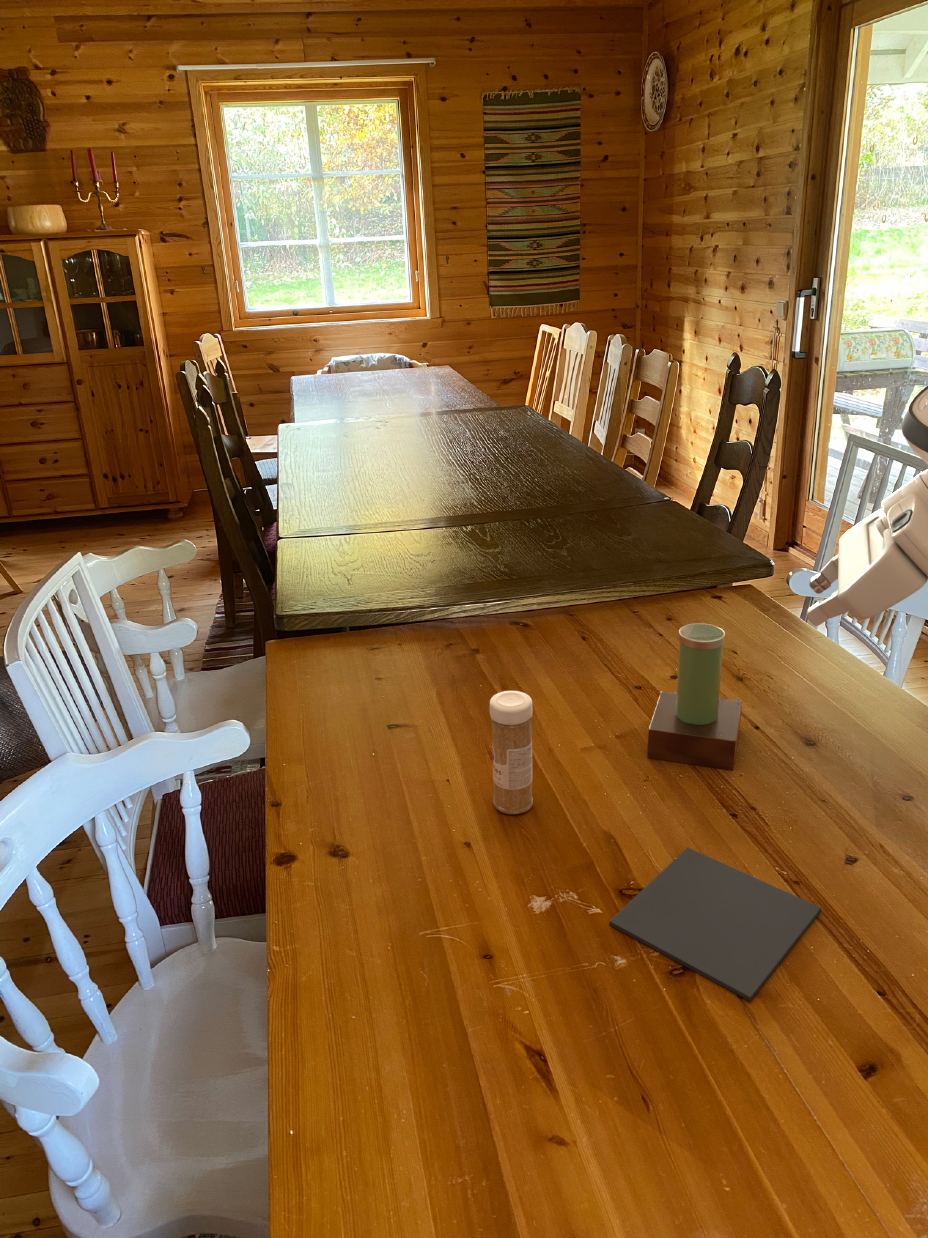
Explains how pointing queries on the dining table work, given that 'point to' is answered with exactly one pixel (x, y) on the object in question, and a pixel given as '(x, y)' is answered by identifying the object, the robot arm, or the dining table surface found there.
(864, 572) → the robot arm
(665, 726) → the walnut block
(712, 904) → the rubber mat
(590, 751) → the dining table surface
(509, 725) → the sprinkles bottle
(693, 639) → the green canister
